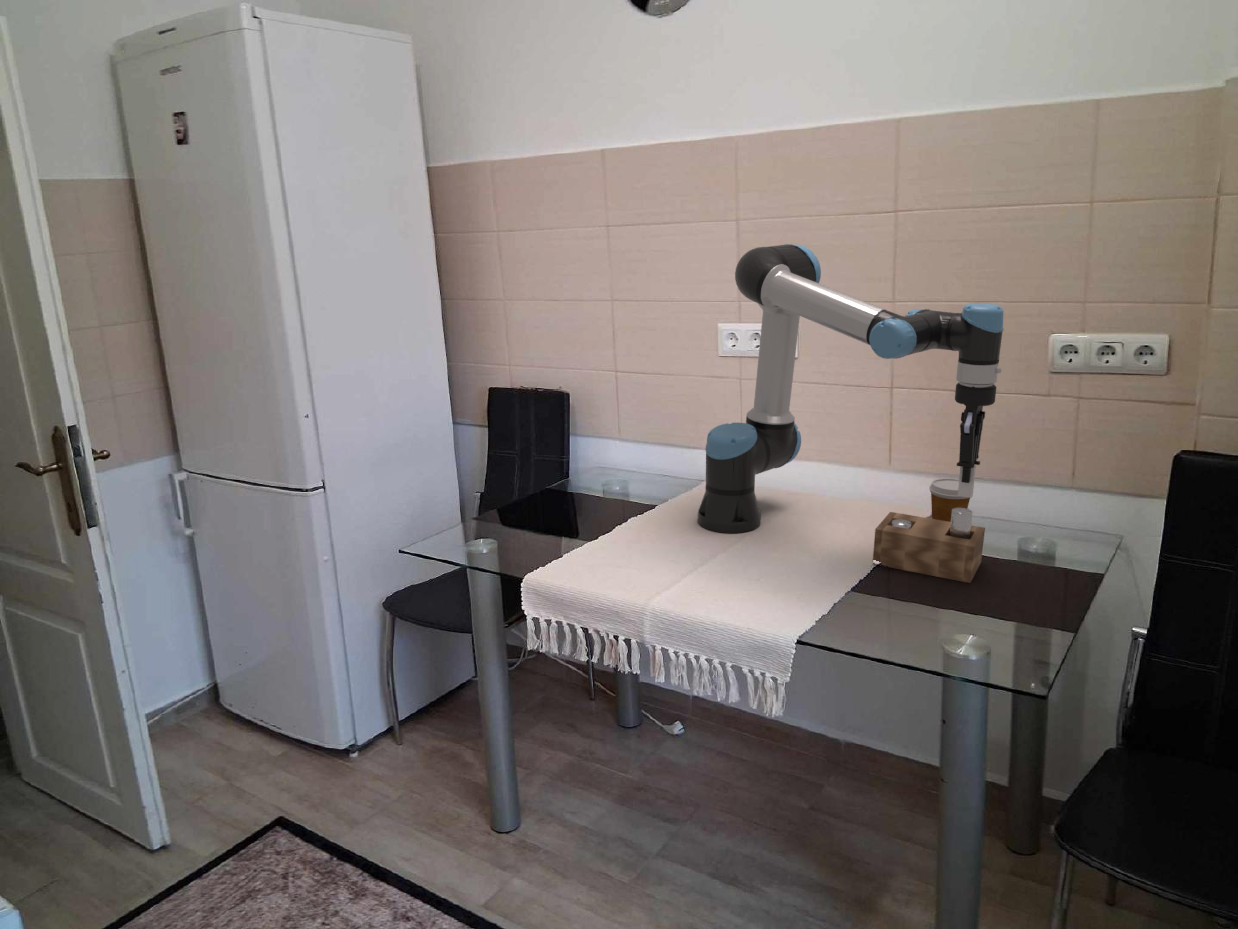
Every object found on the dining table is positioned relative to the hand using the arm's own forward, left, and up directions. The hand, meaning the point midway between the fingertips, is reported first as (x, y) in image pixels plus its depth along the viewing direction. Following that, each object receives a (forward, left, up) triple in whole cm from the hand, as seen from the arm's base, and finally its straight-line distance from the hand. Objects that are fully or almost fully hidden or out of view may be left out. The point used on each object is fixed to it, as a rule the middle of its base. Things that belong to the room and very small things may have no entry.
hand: (965, 495), depth 187 cm
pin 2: (0, 0, -11) cm, 11 cm away
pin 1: (-12, 0, -16) cm, 20 cm away
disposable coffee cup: (-6, +20, -17) cm, 27 cm away
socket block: (-6, 0, -16) cm, 18 cm away
